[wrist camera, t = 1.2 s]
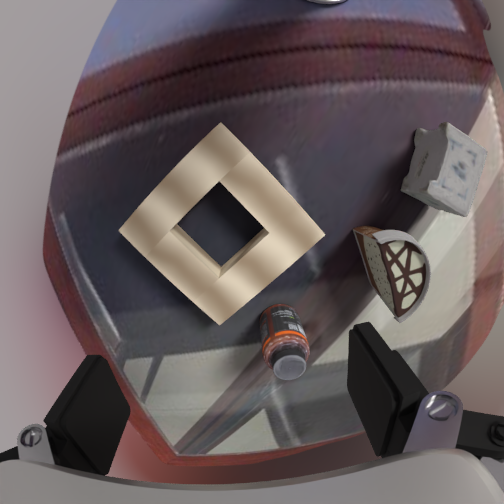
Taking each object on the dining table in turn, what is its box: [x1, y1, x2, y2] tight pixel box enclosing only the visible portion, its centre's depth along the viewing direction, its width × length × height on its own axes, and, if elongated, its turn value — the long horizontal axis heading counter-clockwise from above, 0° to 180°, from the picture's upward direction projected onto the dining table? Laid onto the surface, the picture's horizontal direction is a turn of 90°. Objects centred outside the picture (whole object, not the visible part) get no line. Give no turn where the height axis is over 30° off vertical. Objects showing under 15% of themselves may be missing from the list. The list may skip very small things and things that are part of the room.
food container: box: [353, 226, 431, 323], centre depth 35 cm, size 12×6×10 cm, turn 25°
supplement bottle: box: [259, 304, 310, 380], centre depth 38 cm, size 6×6×11 cm
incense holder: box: [401, 122, 487, 217], centre depth 31 cm, size 10×8×10 cm
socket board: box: [119, 122, 325, 325], centre depth 36 cm, size 18×18×4 cm
